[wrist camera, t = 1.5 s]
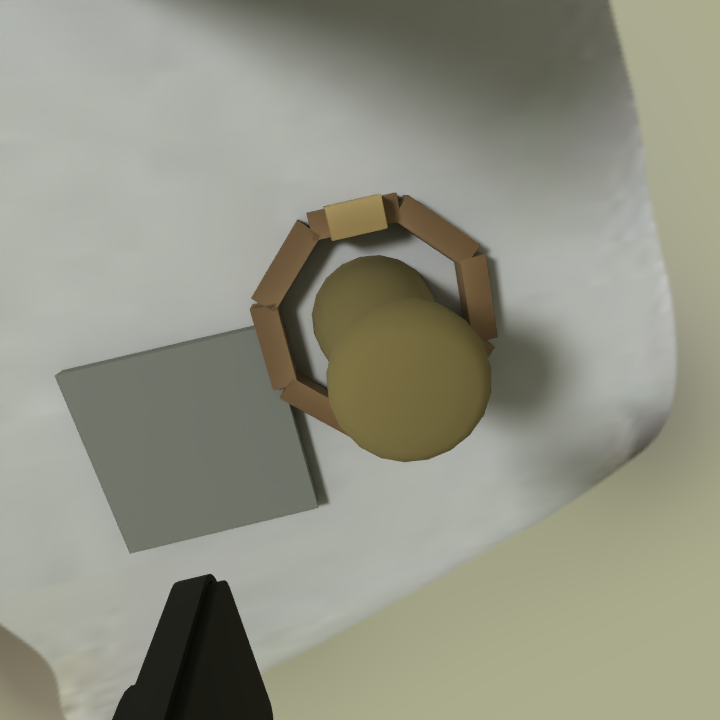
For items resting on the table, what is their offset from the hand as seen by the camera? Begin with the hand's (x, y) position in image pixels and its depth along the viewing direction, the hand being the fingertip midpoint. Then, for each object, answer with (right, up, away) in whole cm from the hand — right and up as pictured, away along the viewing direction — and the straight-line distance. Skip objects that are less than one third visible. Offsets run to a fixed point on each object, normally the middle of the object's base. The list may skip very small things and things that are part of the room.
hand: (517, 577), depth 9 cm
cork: (-2, +6, +17) cm, 18 cm away
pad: (-11, 0, +18) cm, 21 cm away
